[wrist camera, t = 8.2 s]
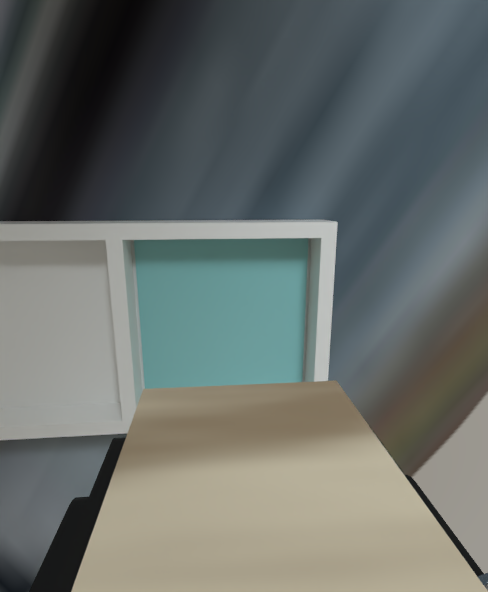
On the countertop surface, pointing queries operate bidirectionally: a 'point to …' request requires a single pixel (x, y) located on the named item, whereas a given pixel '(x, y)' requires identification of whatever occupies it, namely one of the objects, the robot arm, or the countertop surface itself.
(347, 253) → the countertop surface
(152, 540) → the wooden block
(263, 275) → the organiser tray
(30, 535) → the countertop surface
